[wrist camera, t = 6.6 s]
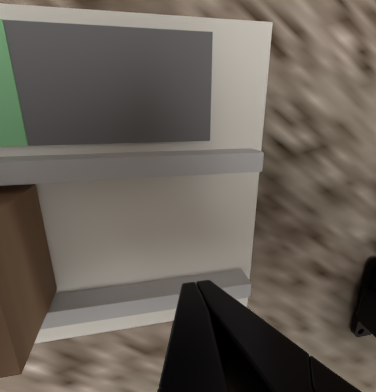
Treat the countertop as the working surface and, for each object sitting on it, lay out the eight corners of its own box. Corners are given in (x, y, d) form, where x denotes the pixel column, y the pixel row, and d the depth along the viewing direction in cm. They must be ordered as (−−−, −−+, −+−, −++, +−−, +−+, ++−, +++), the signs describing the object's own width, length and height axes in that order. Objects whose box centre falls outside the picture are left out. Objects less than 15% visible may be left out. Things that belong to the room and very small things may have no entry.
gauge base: (255, 32, 11) (340, -21, 7) (236, 291, 16) (280, 366, 11) (-323, -2, 8) (-1009, -171, 3) (-135, 346, 12) (-299, 490, 8)
